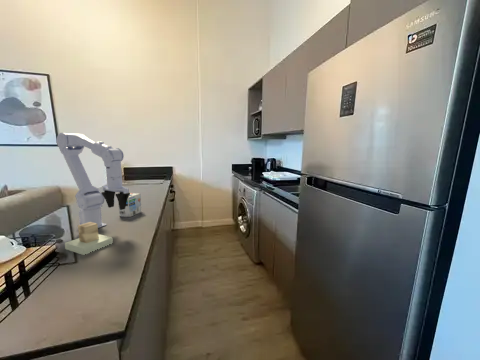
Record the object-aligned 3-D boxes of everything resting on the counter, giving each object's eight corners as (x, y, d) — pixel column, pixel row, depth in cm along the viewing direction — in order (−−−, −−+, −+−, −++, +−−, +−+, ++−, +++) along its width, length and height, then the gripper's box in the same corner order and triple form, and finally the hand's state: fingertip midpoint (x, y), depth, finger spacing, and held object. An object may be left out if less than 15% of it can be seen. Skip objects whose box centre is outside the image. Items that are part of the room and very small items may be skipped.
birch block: (79, 240, 89) (77, 225, 88) (91, 236, 93) (90, 221, 92) (86, 243, 87) (84, 227, 86) (98, 238, 91) (97, 223, 90)
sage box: (65, 250, 88) (64, 242, 87) (95, 240, 98) (94, 232, 97) (83, 256, 83) (83, 248, 83) (113, 245, 93) (112, 237, 92)
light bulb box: (130, 217, 126) (128, 197, 124) (118, 216, 127) (117, 196, 126) (142, 211, 136) (141, 193, 135) (131, 211, 138) (130, 192, 136)
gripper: (94, 177, 102) (97, 208, 104) (117, 179, 96) (119, 212, 98) (110, 175, 108) (112, 204, 110) (132, 177, 102) (134, 208, 104)
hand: (116, 208), depth 104 cm, fingers open, 7 cm apart
